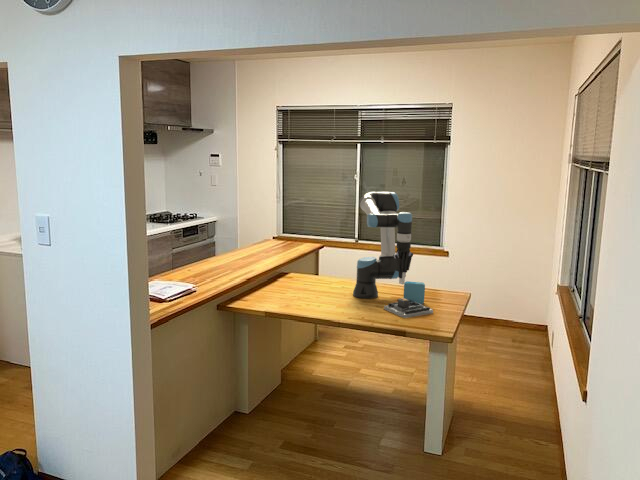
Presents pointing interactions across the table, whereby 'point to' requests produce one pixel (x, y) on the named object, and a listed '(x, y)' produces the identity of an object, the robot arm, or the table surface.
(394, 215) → the robot arm
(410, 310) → the breaker panel
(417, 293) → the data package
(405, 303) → the breaker toggle
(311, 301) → the table surface
